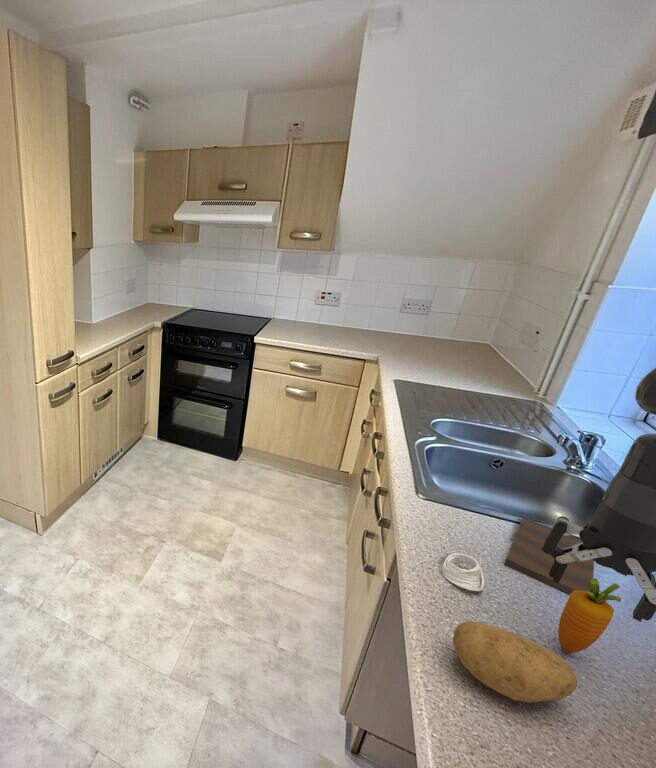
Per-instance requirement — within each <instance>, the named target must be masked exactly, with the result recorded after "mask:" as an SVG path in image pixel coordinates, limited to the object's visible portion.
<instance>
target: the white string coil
mask: <svg viewBox="0 0 656 768" xmlns="http://www.w3.org/2000/svg"><path fill="white" fill-rule="evenodd" d="M460 564H466V565H469V566H470V567H471V568H470V569H465V568H461V567H459V566H457V565H460ZM441 573H442V574H443V576H444V578H445V579H446V580H448V582H450V583H452V584H454V585H455V586H457V587H460V588H462V589H465V590H466V591H472V592H481V591H483V590H484V589H485V578H484V572H483V570H482V567H481V564H480V563H479V562H478V561H477V559H476V558H474V557H472V556H471V555H469V554H465V553H458V552H457V553H456V552H454V553H451V554H449V555H448V556H447V557H445V560H444V562H443V563H442V568H441Z"/></svg>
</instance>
